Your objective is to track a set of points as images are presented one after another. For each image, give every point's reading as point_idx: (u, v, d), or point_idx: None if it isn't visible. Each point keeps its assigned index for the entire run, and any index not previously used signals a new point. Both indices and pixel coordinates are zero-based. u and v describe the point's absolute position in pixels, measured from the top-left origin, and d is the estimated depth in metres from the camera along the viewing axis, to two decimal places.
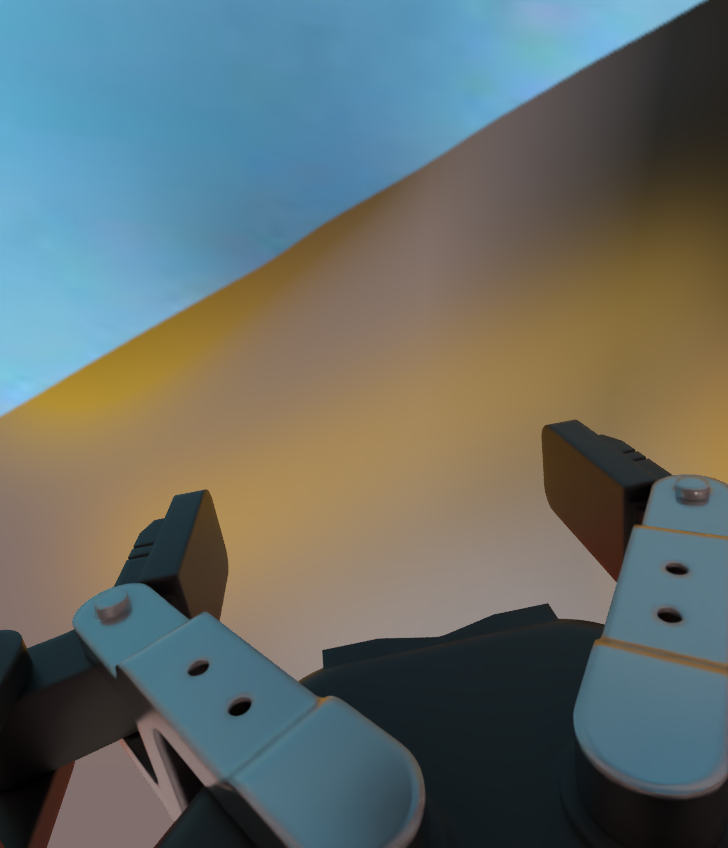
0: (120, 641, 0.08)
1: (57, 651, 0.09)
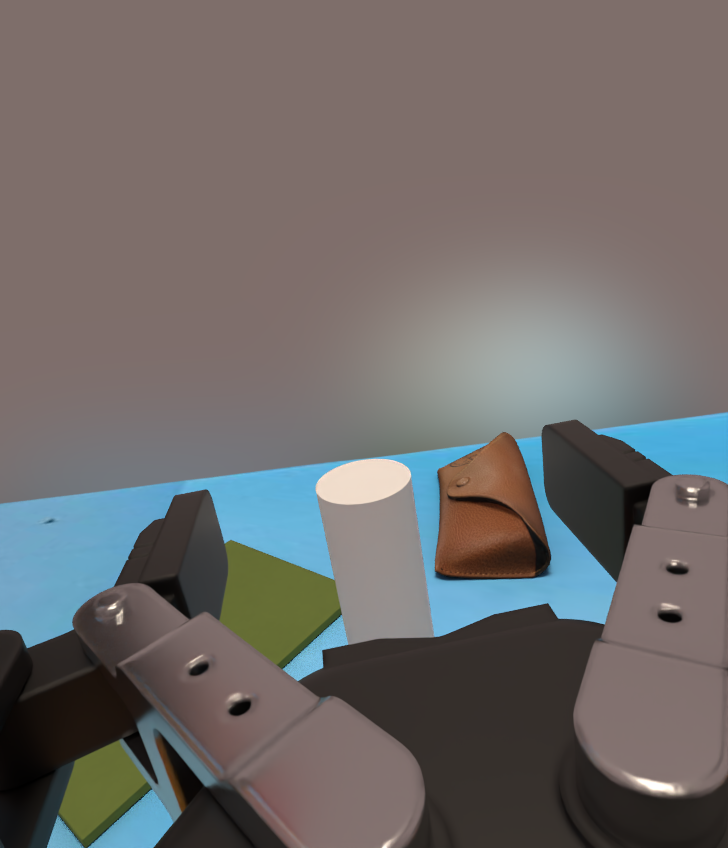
0: (120, 641, 0.08)
1: (57, 650, 0.09)
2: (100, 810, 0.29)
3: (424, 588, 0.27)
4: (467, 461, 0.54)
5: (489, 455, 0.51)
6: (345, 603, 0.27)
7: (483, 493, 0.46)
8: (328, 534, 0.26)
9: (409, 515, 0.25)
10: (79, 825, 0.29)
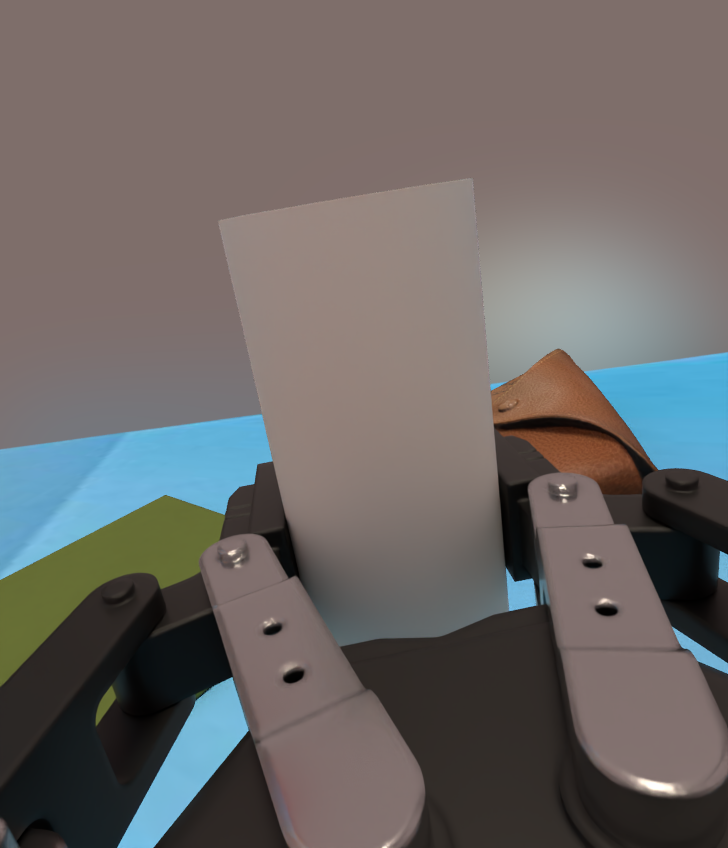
0: (251, 579, 0.09)
1: (183, 593, 0.10)
2: None
3: (497, 499, 0.11)
4: (509, 387, 0.38)
5: (544, 371, 0.35)
6: (300, 533, 0.11)
7: (545, 412, 0.29)
8: (250, 337, 0.10)
9: (469, 276, 0.09)
10: None
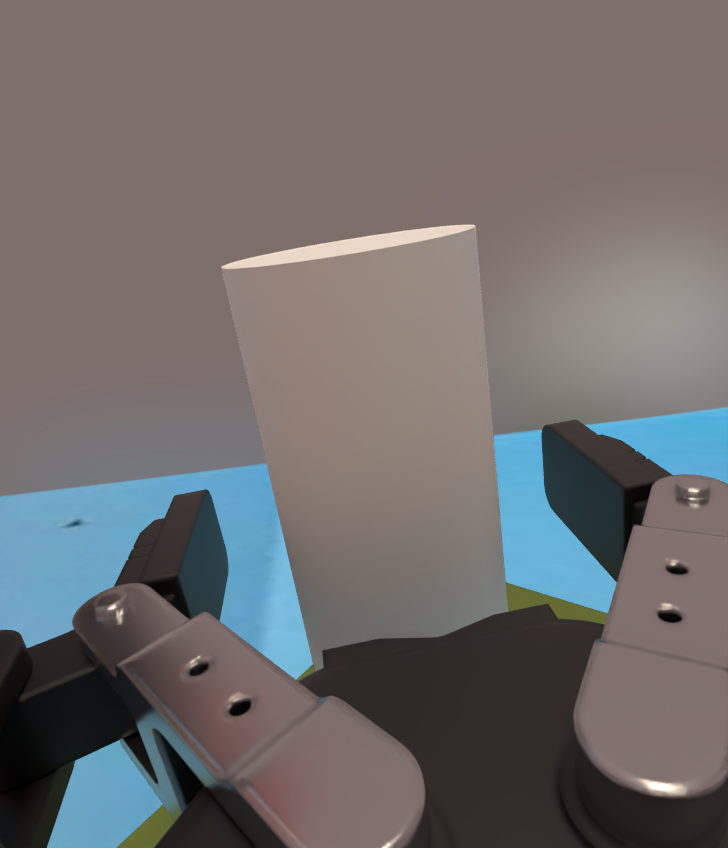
0: (120, 641, 0.08)
1: (57, 651, 0.09)
2: None
3: (500, 539, 0.11)
4: None
5: None
6: (303, 574, 0.11)
7: None
8: (253, 383, 0.10)
9: (472, 324, 0.09)
10: None
